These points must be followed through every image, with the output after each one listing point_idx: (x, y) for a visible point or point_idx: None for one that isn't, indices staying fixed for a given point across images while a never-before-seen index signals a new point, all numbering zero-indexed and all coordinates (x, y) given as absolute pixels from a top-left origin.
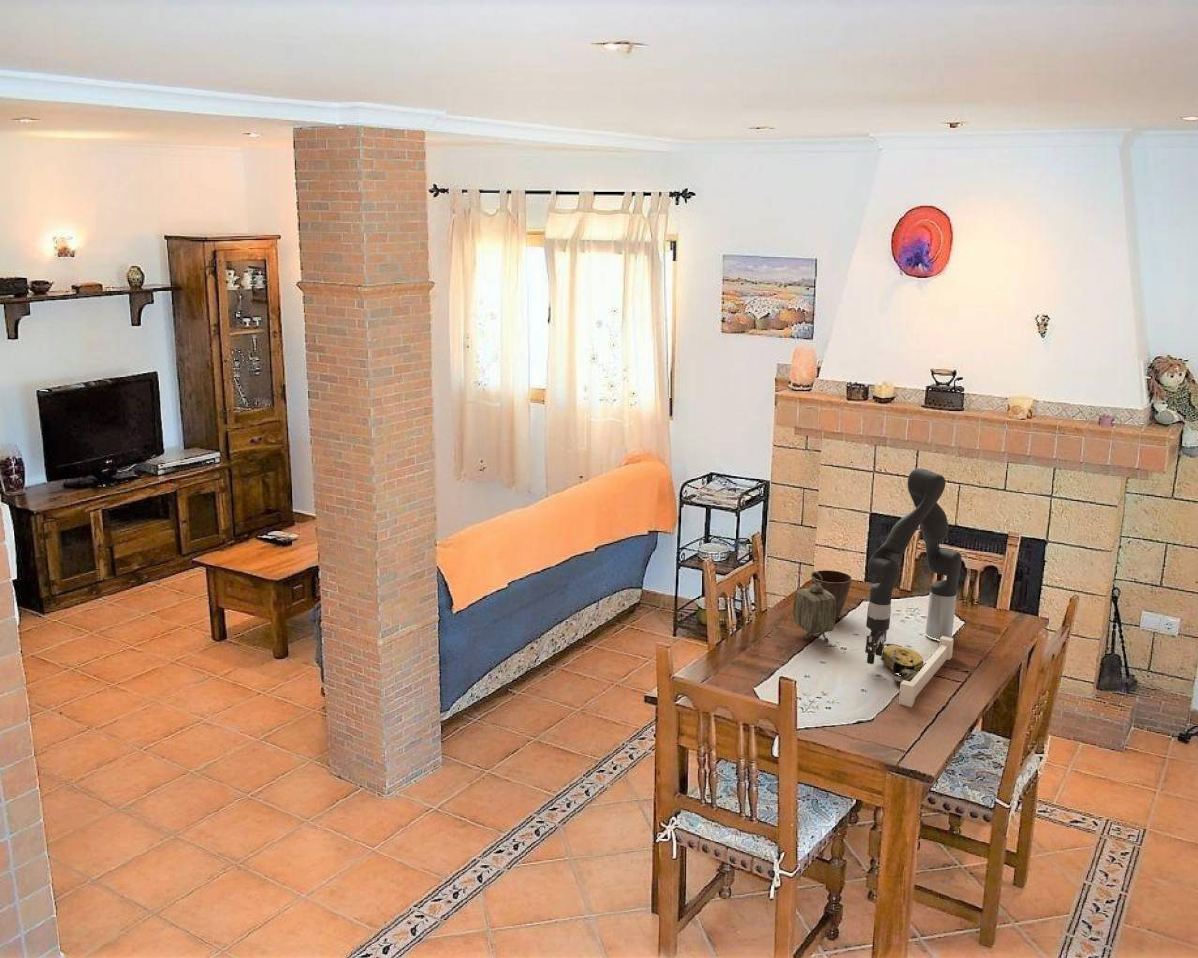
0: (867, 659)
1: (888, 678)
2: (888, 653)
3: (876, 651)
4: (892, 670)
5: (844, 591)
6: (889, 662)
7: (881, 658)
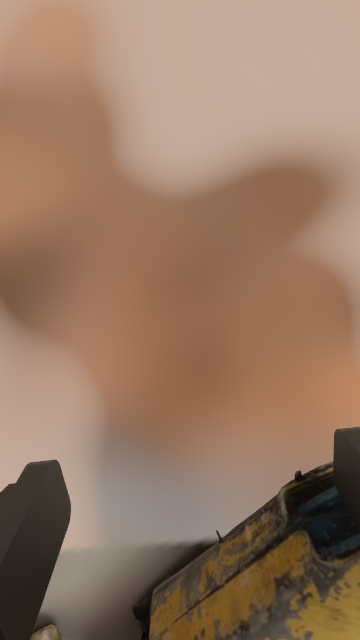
0: (10, 497)
1: (60, 573)
2: (340, 616)
3: (357, 469)
4: (160, 590)
5: None
6: (199, 609)
7: (323, 468)
